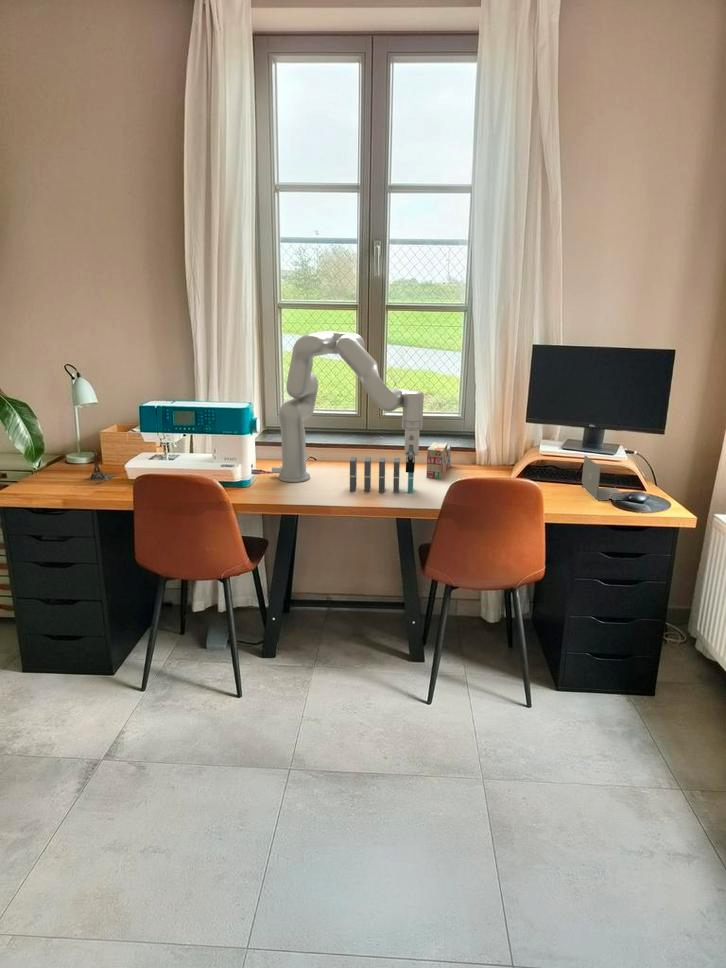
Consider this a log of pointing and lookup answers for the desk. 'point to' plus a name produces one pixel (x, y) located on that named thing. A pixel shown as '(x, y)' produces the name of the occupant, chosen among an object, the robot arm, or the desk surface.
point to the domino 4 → (396, 475)
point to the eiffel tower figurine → (99, 473)
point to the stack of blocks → (438, 460)
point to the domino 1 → (353, 473)
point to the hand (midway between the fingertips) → (410, 468)
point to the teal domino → (410, 482)
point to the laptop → (594, 481)
